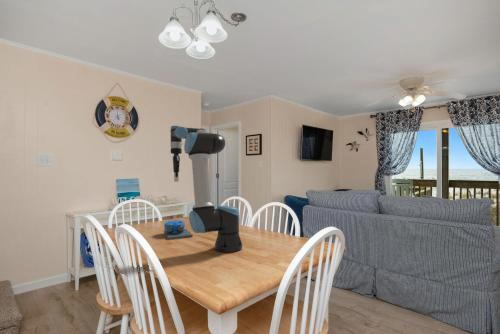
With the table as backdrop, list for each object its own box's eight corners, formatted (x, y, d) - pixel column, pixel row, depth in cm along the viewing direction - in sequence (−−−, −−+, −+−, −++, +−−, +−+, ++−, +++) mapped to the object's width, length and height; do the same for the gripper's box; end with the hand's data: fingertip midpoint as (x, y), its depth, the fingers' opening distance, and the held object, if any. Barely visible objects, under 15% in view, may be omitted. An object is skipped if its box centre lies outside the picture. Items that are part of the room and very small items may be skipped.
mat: (192, 236, 176) (192, 234, 176) (168, 239, 170) (168, 236, 170) (186, 231, 191) (186, 228, 191) (164, 234, 184) (164, 231, 184)
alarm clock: (164, 229, 188) (164, 235, 174) (164, 220, 188) (164, 226, 174) (184, 228, 192) (185, 234, 178) (184, 219, 192) (185, 224, 178)
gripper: (183, 147, 190) (183, 181, 190) (179, 148, 202) (179, 181, 202) (172, 147, 187) (172, 182, 187) (169, 148, 198) (169, 181, 198)
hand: (176, 181), depth 194 cm, fingers closed
